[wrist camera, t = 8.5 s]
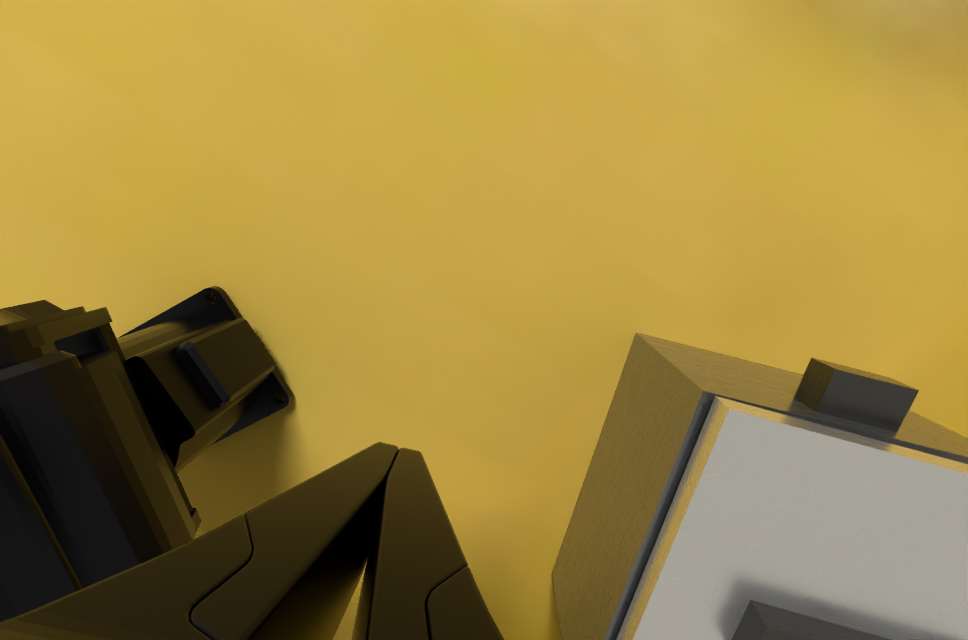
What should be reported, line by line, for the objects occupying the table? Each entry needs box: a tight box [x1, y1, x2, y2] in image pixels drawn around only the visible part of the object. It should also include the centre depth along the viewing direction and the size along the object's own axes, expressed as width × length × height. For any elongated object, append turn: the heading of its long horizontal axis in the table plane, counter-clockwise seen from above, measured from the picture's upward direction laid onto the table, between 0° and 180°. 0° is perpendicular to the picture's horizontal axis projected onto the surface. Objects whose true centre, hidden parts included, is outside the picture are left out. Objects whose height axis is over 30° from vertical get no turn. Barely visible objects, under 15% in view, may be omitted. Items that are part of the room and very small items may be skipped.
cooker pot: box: [552, 333, 968, 640], centre depth 20 cm, size 12×17×7 cm
